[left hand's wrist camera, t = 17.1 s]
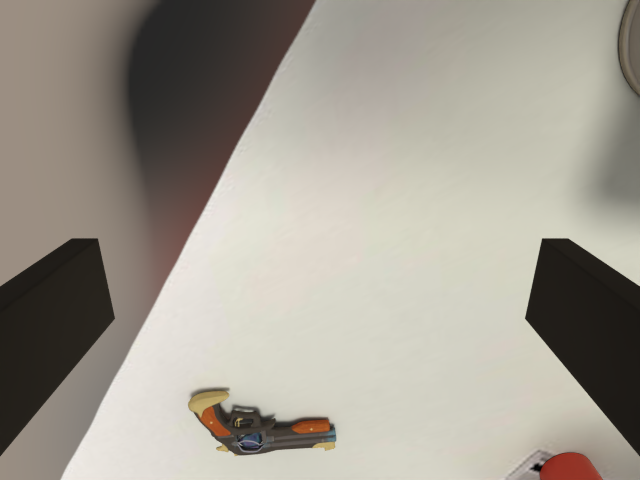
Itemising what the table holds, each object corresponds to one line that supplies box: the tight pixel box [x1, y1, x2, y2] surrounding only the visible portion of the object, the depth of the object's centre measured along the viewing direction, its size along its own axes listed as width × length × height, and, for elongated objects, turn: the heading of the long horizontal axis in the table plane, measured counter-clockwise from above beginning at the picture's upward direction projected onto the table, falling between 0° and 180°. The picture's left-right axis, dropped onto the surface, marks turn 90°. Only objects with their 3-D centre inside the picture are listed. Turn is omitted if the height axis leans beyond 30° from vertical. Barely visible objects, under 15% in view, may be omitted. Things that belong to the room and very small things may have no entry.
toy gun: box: [188, 391, 336, 456], centre depth 56 cm, size 3×19×10 cm
